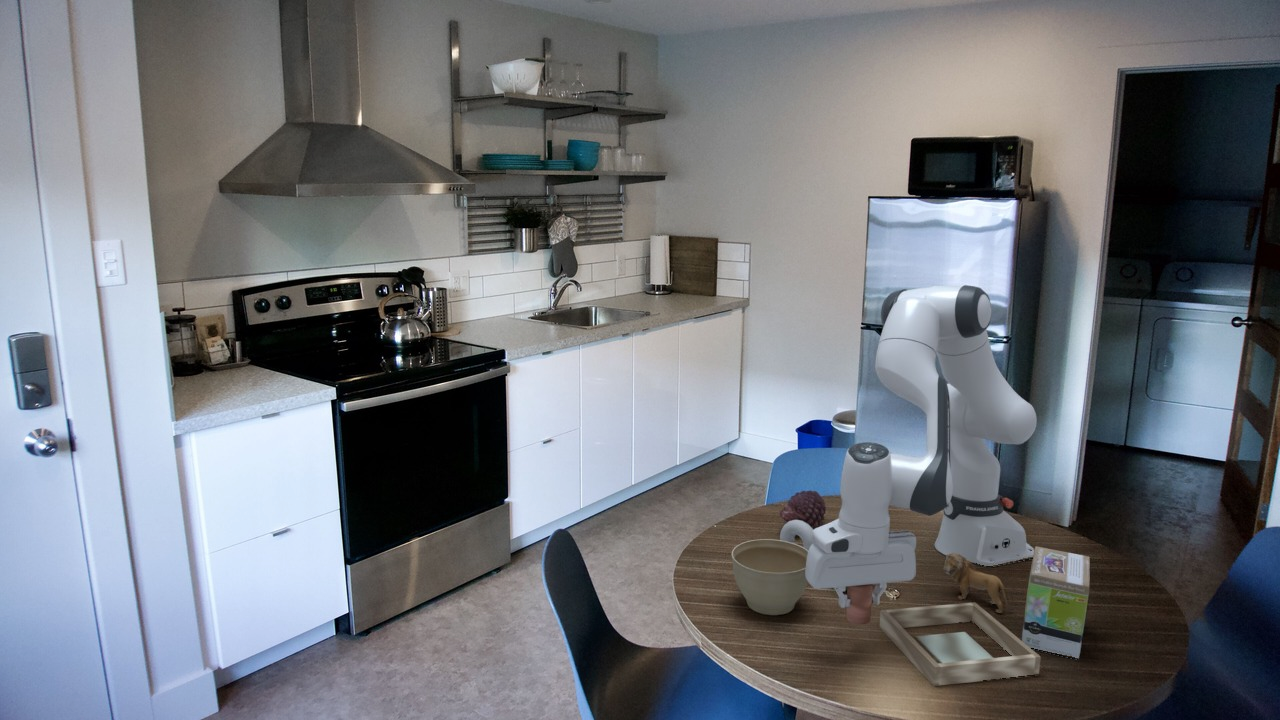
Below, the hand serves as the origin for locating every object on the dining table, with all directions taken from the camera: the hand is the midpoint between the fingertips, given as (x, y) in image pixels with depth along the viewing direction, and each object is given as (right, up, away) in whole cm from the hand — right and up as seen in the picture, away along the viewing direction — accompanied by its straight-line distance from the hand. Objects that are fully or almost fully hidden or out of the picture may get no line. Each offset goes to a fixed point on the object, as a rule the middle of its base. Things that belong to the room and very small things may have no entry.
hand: (858, 604), depth 153 cm
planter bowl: (-14, -5, +17) cm, 22 cm away
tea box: (+38, -8, +7) cm, 40 cm away
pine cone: (+1, +2, +56) cm, 56 cm away
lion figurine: (+29, -5, +20) cm, 35 cm away
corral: (+18, -9, +1) cm, 20 cm away
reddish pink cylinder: (0, -3, +1) cm, 3 cm away
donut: (-4, -1, +37) cm, 37 cm away
